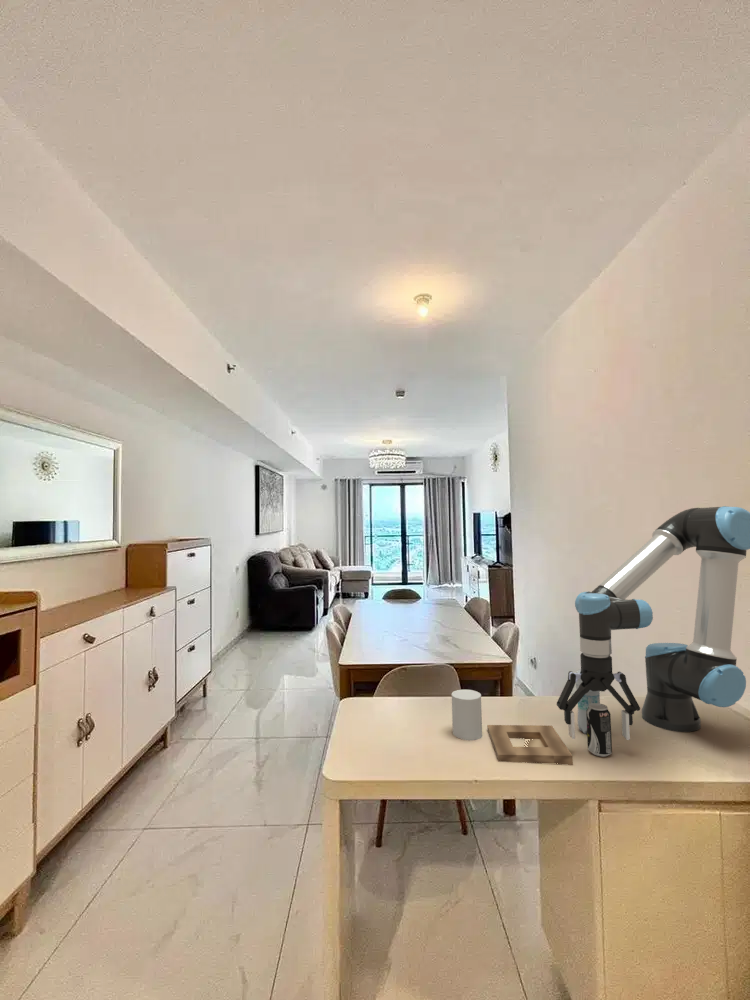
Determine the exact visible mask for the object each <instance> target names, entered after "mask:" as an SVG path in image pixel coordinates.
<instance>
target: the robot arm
mask: <svg viewBox="0 0 750 1000" xmlns="http://www.w3.org/2000/svg"><path fill="white" fill-rule="evenodd" d="M651 536H652V537H651V538H650V539H649V540H648V541H646V543H644V545H642V546H641V547H640V548H639V549H638V550H637V551H636V552H634V554H632V555H631V556H630V557H629V558H627V560H626V561H625V562H624V563H622V564H621V565H620V566H619V567H617V569H616V570H614V571H613V572H612V573H611V574H610V575H609V576H607V578H605V579H604V580H603V581H602V582H601V583H600V584H599V585H597V586H596V588H594V589H593V590H592V591H583V592H582V591H581V592H580V593H579V594H578V595H577V596H576V597H575V601H574V607H575V610H576V612H577V613H578V619H579V620H578V621H579V623H578V624H579V647H580V648H579V649H580V650H579V651H580V653H581V654H580V669H581V672H580V674H579V673H576V672H573V671H572V670H569V671H568V675H567V680H566V682H565V685H564V686H563V688H562V690H561V693H560V695H559V697H558V699H557V702H556V706H557V707H558V709H559V710H561V711H564V712H563V713H564V720H563V721H564V722H565V724H566V725H568V735H569V737H570V738H571V739H572V740H575V739H576V730H575V729H576V728H575V723H576V722H575V713H574V711H573V709H575V707H576V706H578V702H579V701H580V700H581V699H582V697H583V696H584V695H585V694H586V693H588V692H589V690H591V691H600V692H606V691H608V692H609V693H610V694H611V695H612V697H613V698H614V699H615V700H616V701H617V702H618V703H619V705H621V706H622V708H624V709H621V711H620V712H621V732H622V733H621V735H622V737H623V738H624V739H625V740H627V741H630V739H631V738H630V735H631V733H630V726H633V723H634V721H633V715H635V712H636V711H637V712H639V711H640V710H641V718H642V720H643V721H644V722H647V723H648V724H650V725H651V726H654V727H657V728H660V729H663V730H667V731H673V732H681V733H683V732H685V733H688V732H689V733H690V732H695V731H699V730H700V728H701V718H700V715H699V712H698V710H697V707H696V705H695V701H694V700H693V698H694V699H696V700H699V701H701V702H703V703H705V704H708V705H711V706H715V707H718V708H728V707H731V706H733V705H735V704H736V703H737V702H739V701H740V700H741V698H742V697H743V695H744V693H745V692H746V687H747V679H746V676H745V674H744V672H743V670H742V669H741V668H739V667H738V666H737V656H736V655H735V654H734V653H733V652H732V649H731V648H732V637H733V636H732V635H733V625H734V618H735V617H734V615H735V605H736V592H737V583H738V572H739V563H740V562H741V561H743V560H744V559H746V557H747V551H748V550H750V511H748V509H745V508H743V507H739V506H726V505H725V506H714V507H713V506H711V507H710V506H709V507H694V508H693V507H692V508H688V509H684V510H683V511H680V512H678V513H676V514H674V515H673V516H672V517H670V518H668V519H667V520H666V521H664V522H663V523H662V524H661V525H660V526H658V527H657V528H656V529H654V531H653V532H652V534H651ZM690 548H695V552H696V554H697V555H698V556H699V557H700V570H699V577H698V578H699V580H698V589H697V600H696V609H695V619H694V631H693V639H692V641H693V642H692V643H691V644H686V643H685V644H684V643H681V642H680V643H678V642H655V643H654V642H653V643H649V644H647V646H646V647H645V656H644V658H645V675H646V691H647V692H646V695H645V699H644V702H643V704H642V707H641V706H640V705H639V703H638V701H637V700H636V697H635V696H634V694H633V691H632V690H631V688H630V686H629V685H628V682H627V677H626V676H627V675H625V674H624V673H623V672H621V671H617V672H616V673H613V657H612V656H611V655H612V653H613V652H612V651H613V650H612V648H613V647H612V631H617V630H634V629H635V630H639V629H643V628H647V627H649V626H651V624H652V622H653V620H654V619H653V618H654V617H653V613H654V612H653V609H652V607H651V606H650V604H649V603H648V602H647V601H646V600H643V599H635V598H632V599H627V598H629V596H631V594H633V593H634V592H635V591H636V590H637V589H638V588H639V587H641V585H642V584H644V583H645V582H646V581H647V580H648V579H649V578H650V577H651V576H652V575H653V574H655V573H656V572H657V571H658V570H659V569H660V568H661V567H662V566H664V564H666V563H667V562H668V561H669V560H670V559H671V558H672V557H673V556H679V555H681V554H682V553H684V552H685V551H686V550H688V549H690ZM579 678H580V679H581V680H582V683H581V684H580V685H579V688H578V689H577V688H576V690H575V691H574V692H573V690H574V688H575V687H576V683H575V682H577V681H578V679H579ZM614 680H615V681H616V682H618V684H619V686H620V688H621V689H622V691H623V693H624V695H625V697H626V699H627V701H628V702H629V704H628V703H627V701H625V699H624V698H623V697H622V696H621V695H620V693H618V691H617V690H616V689H615V688H614V687H613V685H612V683H613V681H614ZM572 692H573V693H572Z"/></svg>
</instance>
